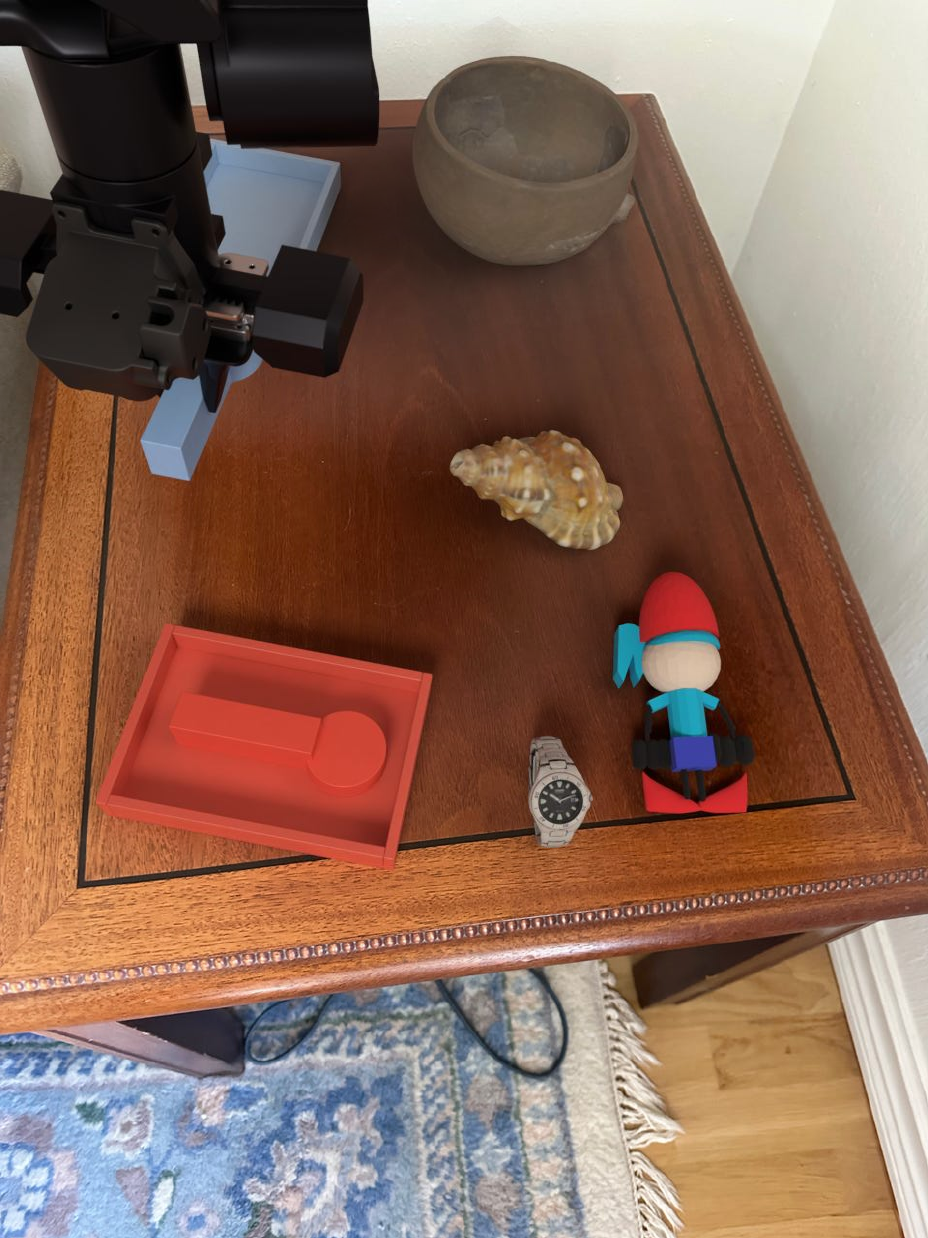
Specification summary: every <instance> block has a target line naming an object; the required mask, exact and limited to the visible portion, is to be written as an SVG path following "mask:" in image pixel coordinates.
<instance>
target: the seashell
mask: <svg viewBox="0 0 928 1238" xmlns="http://www.w3.org/2000/svg"><path fill="white" fill-rule="evenodd" d="M449 471H450V473H451V474H452V475H453V476H454V477H457V478H458V479H459V480H460V481H461V483H462V484H463V485H464V486H466V487H471V488H472V489H473V490H474V492H475V493H476V494H477V496H478V498H480V499H481V500H489V501H494V502H495V503H497V504H498V506H499V507H500V515H501V516H502V517H503V518H506V519H507V520H508V521H510V522H512V521H516V520H519V519H523V520H525V521H526V522H527V523H528V524H529V525H531V526H533V527H535V528H536V529H538V530H539V531H540V532H542V533H543V534H544V535H545V536H546V537H547V538H548V539H550V540H551V541H553V542H554V543H556V545H559V547H560V546H561V547H564V548H569V549H574V550H575V549H576V550H587V551H593V550H596V549H598V548H600V547H602V546H605V545H607V544H609V543H611V541H612V540H613V539H614V537H615V535H616V534H617V532H618V531H619V528H620V527H621V521H620V518H619V513H618V511H619V510H620V508H621V507H622V504H623V502H624V496H623V492H622V488H621V487H620V486H619V485H617V484H614V483H611V482H607V479H606V477H605V473H603V470H602V469H601V465H600V463H599V462H598V460H597V459H596V457H595V456H594V455H593V454H592V453H591V451H590V450H589V449H588V448H587V447H585V446H584V445H583V444H582V443H581V441H580V440H579V439H577V438H575V437H569V436H567V435H565V434H562V432H560V431H557V430H554V429H551V430H549V431H545V430H544V431H541V432H540V434H538V435H537V436H536V437H534V436H529V437H528V436H527V437H520V438H518V439H516V438H512V437H510V436H503V437H502V439H501V440H500V441H499V440H496V441H494V443H493V444H492V445H488V444H484V443H482V444H478V445H476V446H474V447H473V448H472V449H469V448H466V449H462V450H460V451H458V452H456V453H455V455H454V456H453V457H452V459H451V462H450V465H449Z"/></svg>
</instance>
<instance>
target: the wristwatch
mask: <svg viewBox="0 0 928 1238" xmlns="http://www.w3.org/2000/svg"><path fill="white" fill-rule="evenodd" d="M528 758H529V760H528V761H529V765H528V767H527V772H528V783H529V784H528V786H527V787H528V789H527V790H528V799H527V803H528V807H529V811H530V813H531V815H532V818H533V819H532V820H533V829H534V834H535V840H536V843H537V844H538V845H539V847H544V848H548V849H556V848H560V847H565V846H567V845H569V843H570V842H571V841H572V839H573V837H574V835H575V832H576V831H577V830H578V829H579V827H580V826H581V824H582V822H583V821H584V818H585V816H586V814H587V812H588V810H589V809H590V807H591V802H592V801H593V800H594V797H593V795H592V794H591V790H590V789H589V788H588V787H587V785H586V782H585V781H584V779H583V777H582V775H581V773H580V772H579V770H578V768H577V767H576V765H575V762H574V761H573V759H572V758H571V757H570V756H569V755H568V753H567V750H566V749H565V748H564V745H563V743H562V740H561V738H559V737H554V736H552V735H545V736H540V737H534V738H532V740H531V742H530V748H529V756H528Z"/></svg>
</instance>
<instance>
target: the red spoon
mask: <svg viewBox="0 0 928 1238" xmlns="http://www.w3.org/2000/svg"><path fill="white" fill-rule="evenodd" d="M169 728H170V730H171V732H172V734H173V736H174V738H175V740H176V742H177V744H178V745H181V746H186V747H191V748H196V749H201V750H207V751H212V752H217V753H222V754H227V755H232V756H238V757H243V758H248V759H253V760H258V761H264V762H269V763H274V764H279V765H284V766H289V767H295V768H300V769H305V770H307V771H308V774H309V776H310V778H311V780H312V781H313V782H314V784H315V785H316V786H317V787H318V788H320V789H321V790H322V791H324V792H326V793H328V794H330V795H333V796H337V797H353V796H357V795H360V794H362V793H364V792H366V791H368V790H369V789H371V788H372V787H373V786H374V785H375V784H376V783H377V782H378V781H379V779H380V778H381V776H382V774H383V772H384V769H385V765H386V740H385V736H384V734H383V732H382V730H381V728H380V727H379V726H378V724H377V723H376V722H375V721H374V720H372V719H371V718H370V717H368V716H366V715H364V714H362V713H359V712H355V711H338V712H334V713H331V714H328V715H326V716H324V717H323V718H318V717H313V716H308V715H302V714H297V713H292V712H287V711H282V710H276V709H271V708H266V707H261V706H256V705H250V704H245V703H240V702H235V701H230V700H225V699H219V698H214V697H209V696H204V695H199V694H193V693H188V692H183V691H181V693H180V696H179V699H178V701H177V704H176V707H175V710H174V712H173V715H172V718H171V721H170V723H169Z"/></svg>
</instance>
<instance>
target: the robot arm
mask: <svg viewBox="0 0 928 1238" xmlns="http://www.w3.org/2000/svg"><path fill="white" fill-rule="evenodd" d="M181 45H196V49H197V51H196V52H197V57H198V63H199V70H200V77H201V84H202V90H203V95H204V96H203V97H204V101H205V106H206V112H207V117H208V120H209V122H222V124H223V129H224V136H225V141H227V145H240V146H241V149H262V148H264V149H301V148H303V149H304V148H305V149H306V148H348V147H349V148H351V147H376V146H377V144H378V140H379V132H380V131H379V130H380V87H379V82H378V77H377V72H376V71H377V70H376V67H375V62H374V57H373V43H372V31H371V22H370V12H369V0H0V47H20V48H21V51H22V53H23V56H24V59H25V62H26V66H27V68H28V72H29V76H30V78H31V81H32V84H33V87H34V90H35V93H36V97H37V99H38V102H39V105H40V108H41V111H42V114H43V117H44V120H45V123H46V127H47V130H48V133H49V136H50V139H51V142H52V146H53V148H54V150H55V155H56V157H57V160H58V161H57V162H58V163H59V167H60V168H61V172H62V173H61V175H60V177H59V178H58V180H57V181H56V182H55V184H54V186H53V187H52V189H51V191H50V192H49V195H50V197H51V199H49V198H45V197H39V196H36V195H35V196H34V195H29V194H25V193H19V192H14V191H10V190H4V189H0V315H4V316H9V317H15V318H18V317H20V316H21V315H22V314H23V313H24V312H25V311H26V310H27V309H28V308H29V307H30V305H31V303H32V302H33V300H34V298H33V295H32V293H31V291H30V288H29V286H28V282H29V280H30V279H31V277H32V276H33V274H39V275H43V276H42V280H41V283H40V286H39V290H38V293H37V296H36V300H35V303H34V306H33V309H32V313H31V315H30V319H29V322H28V326H27V329H26V333H25V342H26V345H27V347H28V349H29V350H30V352H31V353H32V354H33V355H34V356H35V357H36V358H37V359H38V360H39V361H40V362H41V363H42V364H43V365H44V366H45V367H46V368H47V369H48V370H49V371H50V372H51V373H52V374H53V375H54V376H55V378H57V379H58V380H59V381H60V382H61V383H62V385H64V386H65V387H67V388H70V389H73V390H76V391H90V392H95V393H99V394H105V395H110V396H116V397H118V398H119V397H120V398H123V399H124V400H127V401H133V402H146V401H149V400H152V399H154V398H155V397H156V396H157V397H158V398H159V399H160V398H161V396H162V394H163V392H164V390H169V389H170V388H171V386H172V383H173V381H174V380H175V379H177V378H186V379H191V380H194V379H195V378H196V377H198V376H199V378H200V384H201V390H202V396H203V399H204V401H205V404H206V406H207V409H208V411H209V412H211V413H216V411H217V409H218V406H219V404H220V402H221V399H222V395H223V391H224V388H225V384H226V381H227V377H228V373H229V370H230V366H235V367H237V366H241V365H244V364H245V363H246V362H247V361H248V360H249V359H250V357H251V355H252V352H253V350H254V352H255V353H256V354H257V355H258V356H259V357H261V358H262V361H264V362H265V363H266V364H267V365H268V366H270V367H271V368H273V369H278V370H283V371H288V372H293V373H298V374H303V375H308V376H313V377H317V378H318V377H319V378H323V379H326V378H327V377H330V376H333V375H334V374H337V373H339V372H340V370H341V367H342V364H343V361H344V358H345V356H346V352H347V350H348V347H349V344H350V341H351V339H352V335H353V332H354V329H355V328H356V327H355V326H356V323H357V321H358V319H359V314H360V313H361V310H362V306H363V304H364V302H365V301H364V293H365V292H364V274H363V271H361V269H360V267H359V266H358V264H357V263H356V261H355V260H353V259H352V258H351V257H347V256H344V255H343V256H342V255H337V254H333V253H327V252H321V251H318V250H317V251H312V250H307V249H302V248H297V247H292V246H286V245H281V248H280V250H279V252H278V255H277V257H276V259H275V262H274V264H273V266H272V268H271V271H270V273H269V275H268V277H267V276H266V274H267V272H268V269H269V265H268V261H267V260H265V259H261V258H256V257H250V256H245V255H240V254H235V253H223V254H220V255H219V254H218V249H219V247H220V245H221V243H222V241H223V239H224V237H225V235H226V232H225V226H224V220H223V216H221V215H215V214H211V210H210V204H209V199H208V193H207V188H206V182H205V177H204V170H205V168H206V167H207V165H208V163H209V161H210V159H211V157H212V149H211V143H210V139H211V136H210V133H206V132H201V131H197V129H196V123H195V117H194V112H193V107H192V101H191V100H192V99H191V96H190V89H189V85H188V78H187V74H186V68H185V67H186V66H185V62H184V57H183V51H182V46H181Z"/></svg>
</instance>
